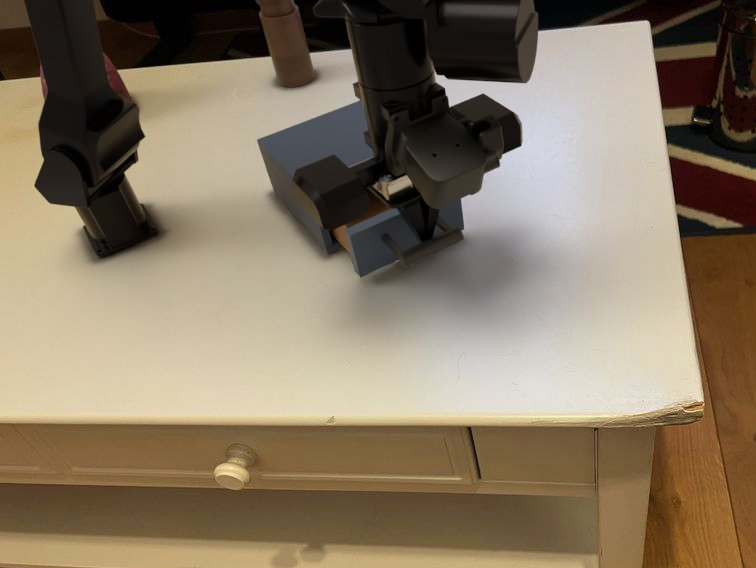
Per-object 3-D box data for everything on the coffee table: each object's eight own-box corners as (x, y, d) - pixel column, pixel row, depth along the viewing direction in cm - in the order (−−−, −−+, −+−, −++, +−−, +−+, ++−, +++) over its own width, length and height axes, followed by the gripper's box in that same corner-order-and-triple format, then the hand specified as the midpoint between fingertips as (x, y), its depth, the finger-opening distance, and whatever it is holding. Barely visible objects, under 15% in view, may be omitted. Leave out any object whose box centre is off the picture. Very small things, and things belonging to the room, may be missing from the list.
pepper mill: (321, 78, 98) (293, -34, 88) (287, 91, 96) (255, -22, 86) (306, 66, 101) (277, -44, 91) (272, 78, 99) (240, -32, 89)
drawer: (490, 252, 67) (487, 209, 64) (383, 304, 64) (373, 261, 60) (401, 174, 78) (394, 134, 74) (305, 215, 74) (292, 175, 71)
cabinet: (437, 205, 75) (429, 148, 70) (327, 254, 71) (311, 198, 66) (375, 152, 83) (364, 98, 79) (274, 193, 79) (256, 139, 74)
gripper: (329, 164, 46) (375, 338, 57) (564, 67, 52) (564, 242, 63) (263, 101, 53) (316, 267, 64) (477, 22, 59) (491, 187, 70)
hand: (424, 241), depth 65 cm, fingers closed, pressing on drawer
